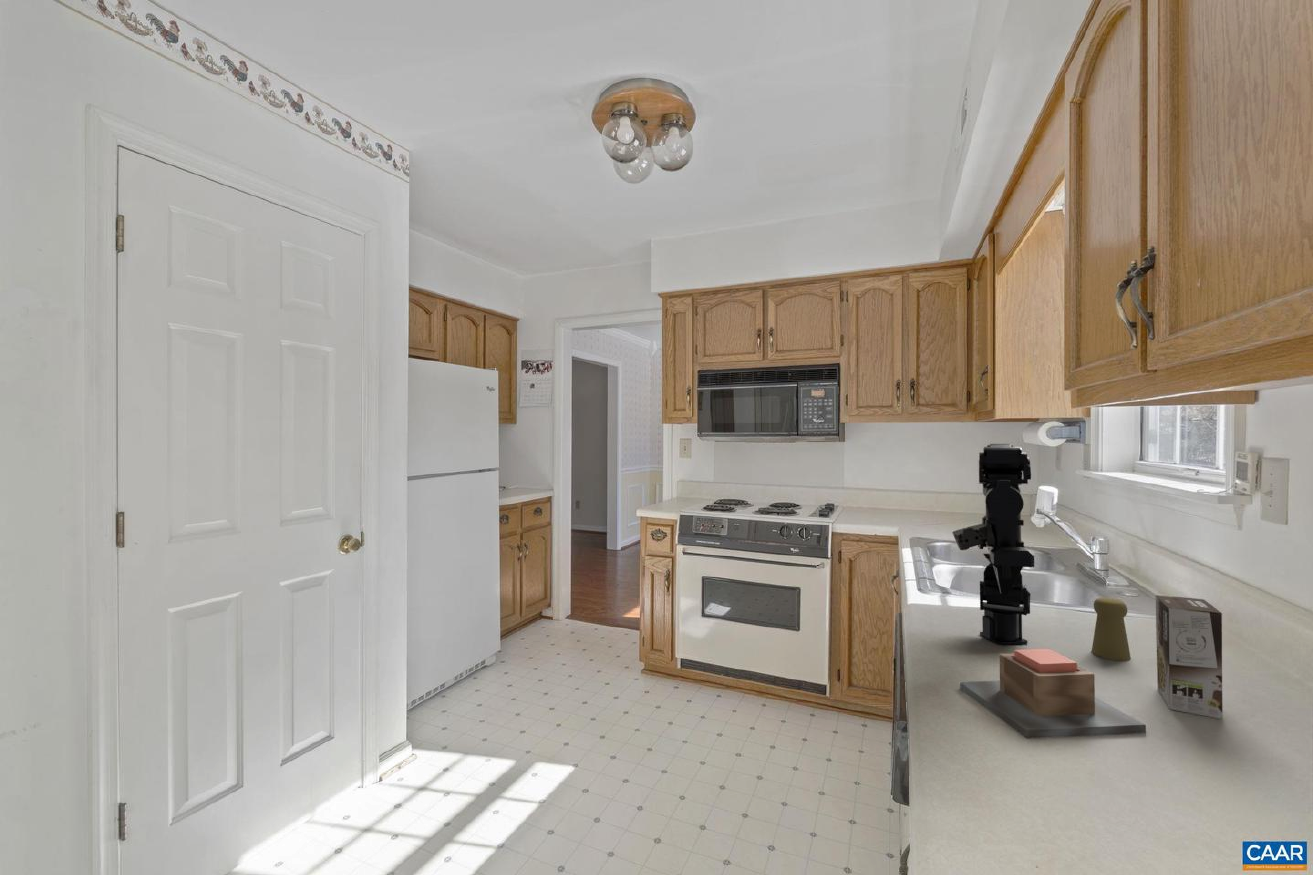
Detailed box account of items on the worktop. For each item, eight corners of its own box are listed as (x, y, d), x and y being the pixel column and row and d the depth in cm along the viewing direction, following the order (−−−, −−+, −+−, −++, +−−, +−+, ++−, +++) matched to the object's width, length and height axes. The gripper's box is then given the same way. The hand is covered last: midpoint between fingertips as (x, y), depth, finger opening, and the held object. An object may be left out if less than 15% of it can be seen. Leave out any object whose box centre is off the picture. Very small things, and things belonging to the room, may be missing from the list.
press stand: (1060, 685, 98) (1060, 643, 98) (1146, 732, 82) (1145, 683, 82) (960, 689, 97) (959, 646, 97) (1026, 738, 81) (1026, 687, 81)
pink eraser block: (1048, 685, 93) (1048, 648, 93) (1077, 701, 87) (1076, 662, 87) (1014, 686, 92) (1014, 649, 92) (1041, 703, 86) (1040, 663, 86)
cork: (1095, 657, 110) (1094, 600, 110) (1088, 647, 115) (1087, 593, 115) (1134, 662, 107) (1134, 604, 107) (1126, 652, 112) (1125, 596, 113)
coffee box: (1225, 720, 85) (1223, 613, 85) (1168, 709, 89) (1167, 606, 89) (1207, 696, 93) (1206, 598, 93) (1155, 687, 97) (1154, 593, 97)
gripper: (949, 505, 120) (951, 579, 119) (961, 517, 102) (963, 604, 102) (1011, 507, 115) (1012, 584, 115) (1034, 519, 98) (1035, 610, 98)
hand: (1004, 594), depth 108 cm, fingers closed
